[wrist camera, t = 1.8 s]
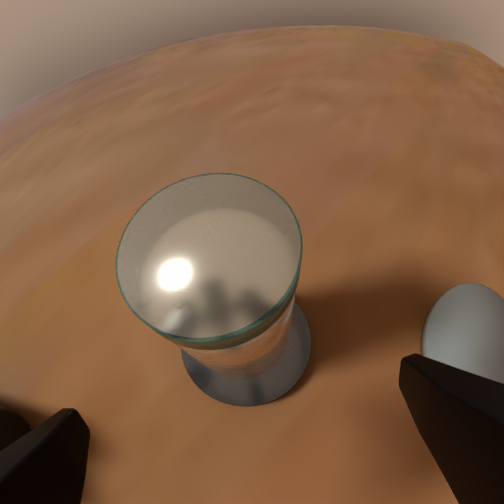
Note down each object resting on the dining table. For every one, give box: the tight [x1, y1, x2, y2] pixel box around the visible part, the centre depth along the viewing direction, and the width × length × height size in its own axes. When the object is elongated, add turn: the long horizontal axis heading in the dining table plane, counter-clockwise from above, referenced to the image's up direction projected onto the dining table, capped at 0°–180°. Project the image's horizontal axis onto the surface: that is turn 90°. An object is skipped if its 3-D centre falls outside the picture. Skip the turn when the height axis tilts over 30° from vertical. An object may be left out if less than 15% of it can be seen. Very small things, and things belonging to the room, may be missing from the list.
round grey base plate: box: [181, 301, 311, 406], centre depth 17 cm, size 8×8×3 cm
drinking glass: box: [116, 173, 303, 379], centre depth 12 cm, size 5×5×9 cm
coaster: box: [421, 283, 504, 384], centre depth 16 cm, size 9×9×1 cm
